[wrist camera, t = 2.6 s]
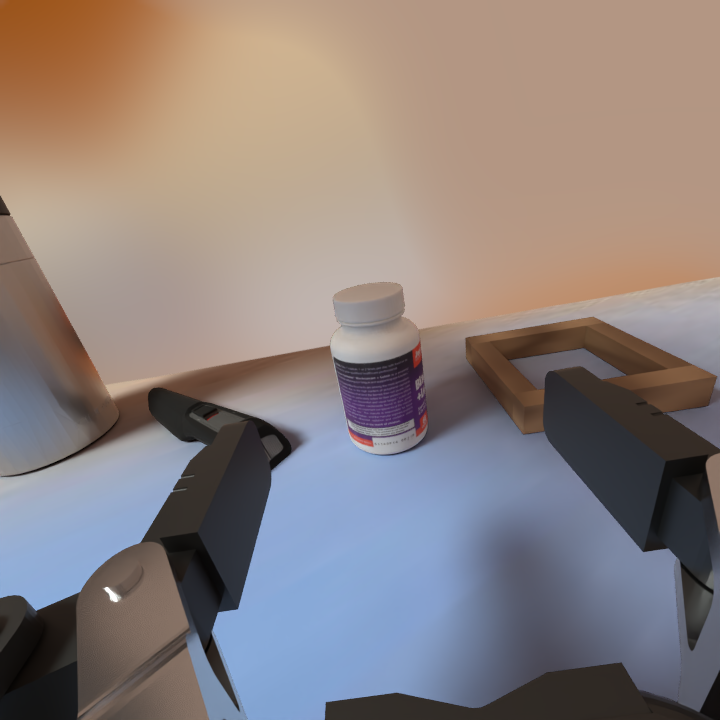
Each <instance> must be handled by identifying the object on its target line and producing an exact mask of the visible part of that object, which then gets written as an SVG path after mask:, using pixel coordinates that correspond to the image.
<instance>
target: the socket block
mask: <svg viewBox="0 0 720 720" xmlns="http://www.w3.org/2000/svg"><path fill="white" fill-rule="evenodd" d="M578 348H585V349H587V350H588V351H590V352H591V353H593V354H595V355H596V356H598V357H599V358H601V359H603V360H604V361H606V362H607V363H609V364H611V365H612V366H614V367H615V368H617V369H618V370H620V371H622V372H623V373H625V374H626V375H628V376H621V377H615V378H609V379H603V380H602V381H607V382H610V383H612V384H615V385H618V386H621V387H623V388H626V389H629V390H631V391H632V392H634V393H635V394H637V395H638V396H640V397H641V398H643V399H644V400H646V401H647V403H648V404H652V405H653V406H655V407H656V408H658V409H659V410H661V411H662V412H663V413H664V412H670V411H677V410H683V409H690V408H696V407H703V406H708V404H709V401H710V398H711V394H712V391H713V388H714V385H715V382H716V379H717V376H715V375H713V374H711V373H709V372H707V371H705V370H703V369H700V368H698V367H696V366H694V365H692V364H690V363H688V362H686V361H684V360H682V359H680V358H678V357H676V356H673V355H671V354H669V353H667V352H665V351H663V350H661V349H659V348H657V347H655V346H653V345H651V344H648V343H646V342H644V341H642V340H640V339H638V338H636V337H634V336H632V335H630V334H628V333H626V332H623V331H621V330H619V329H617V328H615V327H613V326H611V325H609V324H607V323H605V322H603V321H601V320H599V319H596V318H594V317H589V318H583V319H577V320H571V321H565V322H559V323H553V324H547V325H541V326H535V327H528V328H522V329H516V330H510V331H504V332H498V333H492V334H486V335H480V336H474V337H468V338H466V359H467V360H468V361H469V363H470V364H471V365H472V367H473V368H474V369H475V371H476V372H477V373H478V375H479V376H480V377H481V379H482V380H483V381H484V383H485V384H486V385H487V387H488V388H489V389H490V391H491V392H492V393H493V395H494V396H495V397H496V399H497V400H498V401H499V403H500V404H501V405H502V407H503V408H504V409H505V411H506V412H507V413H508V415H509V416H510V417H511V419H512V420H513V421H514V423H515V424H516V425H517V427H518V428H519V429H520V430H521V432H522V433H523V434H528V433H535V432H541V431H545V430H544V426H543V408H544V391H545V389H540V390H537V389H536V388H535V387H534V386H533V385H532V384H531V383H530V382H529V381H528V380H527V379H526V378H525V377H524V376H523V375H522V374H521V373H520V372H519V371H518V370H517V369H516V368H515V367H514V366H513V365H512V364H511V363H510V362H509V361H508V360H510V359H517V358H523V357H529V356H535V355H541V354H547V353H554V352H560V351H566V350H572V349H578Z"/></svg>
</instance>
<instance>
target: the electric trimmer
mask: <svg viewBox="0 0 720 720" xmlns="http://www.w3.org/2000/svg"><path fill="white" fill-rule="evenodd" d="M148 403H149V410H150V412H151V414H152V415H153V416H154V417H155V418H156V419H157V420H158V421H159V422H160V423H161V424H162V425H163V426H164V427H165V428H167V429H168V430H169V431H170V432H171V433H172V434H173V435H175V436H176V437H177V438H178V439H180V440H181V441H189V440H194V439H197V440H198V441H200V442H202V443H204V444H206V445H207V446H210V445H212V443H213V441H214V439H215V437H216V436H217V434H218V432H219V430H220V429H221V427H222V426H223V425H226V424H232V423H238V422H244V421H253V422H254V424H255V425H256V428H257V430H258V433H259V436H260V439H261V441H262V444H263V447H264V450H265V453H266V455H267V458H268V461H269V464H270V468H271V470H272V469H273V468H274V467H276V466H277V465H278V464H279V463H280V462H281V461H283V460H284V459H285V458H286V457H287V456H288V455H289V454H290V453H291V445H290V443H289V441H288V440H287V439H286V438H285V437H284V435H283V434H282V433H280V432H279V431H278V430H277V429H276V428H275V427H273V426H272V425H270V424H269V423H267V422H266V421H264V420H261V419H259V418H256V417H253V416H250V415H246V414H243V413H240V412H237V411H234V410H231V409H228V408H225V407H221V406H218V405H215V404H212V403H207V402H202V401H199V400H196V399H193V398H190V397H187V396H184V395H181V394H178V393H175V392H172V391H169V390H166V389H163V388H153V389H152V390H151V391H150V392H149V394H148Z"/></svg>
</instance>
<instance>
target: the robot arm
mask: <svg viewBox="0 0 720 720" xmlns="http://www.w3.org/2000/svg"><path fill="white" fill-rule="evenodd" d="M118 417H119V411H118V409H117V407H116V405H115V403H114V402H113V400H112V398H111V396H110V394H109V392H108V391H107V389H106V387H105V385H104V384H103V382H102V380H101V378H100V376H99V374H98V372H97V370H96V368H95V367H94V365H93V363H92V361H91V359H90V357H89V356H88V354H87V352H86V350H85V348H84V346H83V345H82V343H81V341H80V339H79V337H78V335H77V334H76V332H75V330H74V328H73V326H72V325H71V323H70V321H69V319H68V317H67V315H66V314H65V312H64V310H63V308H62V306H61V305H60V303H59V301H58V299H57V297H56V296H55V294H54V292H53V290H52V288H51V286H50V285H49V283H48V281H47V279H46V277H45V276H44V274H43V272H42V270H41V268H40V266H39V264H38V263H37V261H36V259H35V258H34V256H33V254H32V252H31V250H30V248H29V247H28V245H27V243H26V241H25V239H24V238H23V236H22V234H21V232H20V230H19V228H18V227H17V225H16V223H15V221H14V220H13V217H11V216H10V212H9V210H8V209H7V207H6V205H5V203H4V201H3V200H2V198H1V196H0V476H8V475H15V474H20V473H24V472H28V471H32V470H35V469H38V468H41V467H43V466H46V465H49V464H51V463H54V462H56V461H58V460H61V459H63V458H65V457H67V456H69V455H71V454H73V453H75V452H77V451H79V450H80V449H82V448H84V447H85V446H87V445H89V444H90V443H92V442H93V441H95V440H96V439H98V438H99V437H100V436H102V435H103V434H104V433H105V432H107V431H108V430H109V429H110V428H111V427H112V426H113V425H114V423H115V422H116V421H117V419H118ZM543 426H544V430H545V433H546V436H547V438H548V440H549V442H550V443H551V444H552V445H553V447H554V448H555V449H556V450H557V451H558V452H559V454H560V455H561V456H562V457H563V458H564V460H565V461H566V462H567V463H568V464H569V465H570V467H571V468H572V469H573V470H574V471H575V472H576V474H577V475H578V476H579V477H580V478H581V479H582V481H583V482H584V483H585V484H586V485H587V487H588V488H589V489H590V490H591V491H592V492H593V494H594V495H595V496H596V497H597V498H598V499H599V501H600V502H601V503H602V504H603V505H604V506H605V508H606V509H607V510H608V511H609V512H610V513H611V515H612V516H613V517H614V518H615V519H616V521H617V522H618V523H619V524H620V525H621V526H622V528H623V529H624V530H625V531H626V532H627V533H628V535H629V536H630V537H631V538H632V539H633V540H634V542H635V543H636V544H637V545H638V546H639V548H640V549H641V550H642V551H643V552H646V551H653V550H660V549H667V548H669V549H670V550H671V552H672V553H673V554H674V555H675V556H676V557H677V558H676V562H675V565H674V577H675V589H676V602H677V614H678V627H679V639H680V652H681V675H680V683H679V690H678V702H675V701H673V700H670V699H668V698H665V697H662V696H658V695H655V694H652V693H649V692H645V691H641V690H638V689H637V688H636V686H635V684H634V683H633V681H632V679H631V678H630V676H629V674H628V673H627V671H626V669H625V668H624V666H623V664H622V663H614V664H607V665H600V666H592V667H585V668H577V669H570V670H562V671H555V672H548V673H545V674H543V675H542V676H540V677H538V678H536V679H534V680H532V681H530V682H529V683H527V684H525V685H523V686H521V687H519V688H517V689H516V690H514V691H512V692H510V693H508V694H506V695H504V696H503V697H501V698H499V699H497V700H495V701H493V702H491V703H490V704H488V705H486V706H483V707H481V708H468V707H463V706H458V705H453V704H449V703H444V702H439V701H434V700H429V699H424V698H419V697H415V696H410V695H405V694H400V693H392V694H384V695H377V696H369V697H362V698H354V699H347V700H340V701H332V702H326V710H325V720H720V449H719V448H717V447H716V446H714V445H713V444H711V443H710V442H708V441H707V440H705V439H703V438H702V437H700V436H699V435H697V434H696V433H694V432H693V431H691V430H690V429H688V428H687V427H685V426H684V425H682V424H681V423H679V422H678V421H676V420H675V419H673V418H672V417H670V416H669V415H667V414H665V415H664V414H663V412H662V411H661V410H659V409H658V408H656V407H655V406H653V405H652V404H648V403H647V401H646V400H644V399H643V398H641V397H640V396H638V395H637V394H635V393H634V392H632V391H631V390H629V389H626V388H623V387H621V386H618V385H615V384H612V383H610V382H607V381H602V380H601V379H599V378H598V377H596V376H595V375H593V374H592V373H590V372H589V371H588V370H586V369H585V368H583V367H580V366H578V367H572V368H566V369H560V370H554V371H549V372H548V373H547V375H546V378H545V391H544V408H543ZM270 487H271V468H270V464H269V461H268V458H267V455H266V453H265V450H264V447H263V444H262V441H261V439H260V436H259V433H258V430H257V428H256V425H255V424H254V422H253V421H244V422H238V423H232V424H226V425H223V426H222V427H221V429H220V430H219V432H218V434H217V436H216V437H215V439H214V441H213V443H212V445H210V446H206V447H204V448H203V449H202V450H201V451H200V452H199V453H198V454H197V455H196V456H195V457H194V458H193V459H192V460H190V462H189V464H188V465H187V467H186V469H185V470H184V472H183V474H182V475H181V479H179V480H178V482H177V483H176V485H175V487H174V488H173V492H172V493H170V495H169V497H168V498H167V500H166V502H165V503H164V505H163V507H162V508H161V510H160V511H159V513H158V515H157V516H156V518H155V520H154V521H153V523H152V525H151V526H150V528H149V530H148V531H147V533H146V535H145V536H144V538H143V539H142V541H141V543H139V544H136V545H133V546H131V547H128V548H126V549H124V550H122V551H121V552H119V553H117V554H116V555H114V556H113V557H111V558H110V559H109V560H107V561H106V562H105V563H104V564H103V565H101V566H100V567H99V568H98V569H97V570H96V571H95V572H94V573H93V574H92V576H91V577H90V578H89V579H88V581H87V582H86V584H85V585H84V587H83V588H82V590H81V592H79V593H77V594H75V595H72V596H70V597H68V598H65V599H63V600H61V601H58V602H56V603H54V604H51V605H49V606H47V607H44V608H42V609H39V610H37V611H36V610H35V609H34V608H33V607H32V606H31V605H30V604H29V603H28V602H27V601H26V600H25V599H24V597H21V596H16V595H13V596H7V597H3V598H0V720H248V718H247V716H246V713H245V711H244V708H243V706H242V703H241V700H240V698H239V695H238V692H237V690H236V687H235V685H234V682H233V679H232V677H231V674H230V672H229V669H228V666H227V664H226V661H225V659H224V656H223V653H222V651H221V648H220V646H219V643H218V640H217V638H216V635H215V633H214V632H213V630H212V629H213V626H214V623H215V620H216V616H217V613H218V612H223V611H229V610H236V609H238V607H239V603H240V599H241V596H242V592H243V588H244V584H245V581H246V577H247V573H248V569H249V566H250V562H251V558H252V554H253V551H254V547H255V543H256V539H257V536H258V532H259V528H260V525H261V521H262V517H263V513H264V510H265V506H266V502H267V498H268V495H269V491H270Z"/></svg>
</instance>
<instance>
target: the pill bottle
mask: <svg viewBox="0 0 720 720" xmlns="http://www.w3.org/2000/svg"><path fill="white" fill-rule="evenodd" d="M333 304H334V310H335V316H336V318H337V322H338V323H339V324H341V325H342V326H341V327H340V328H338V329H337V330H336V331H335V332H334V334H333V336H332V338H331V341H330V348H331V353H332V358H333V363H334V367H335V372H336V376H337V381H338V386H339V390H340V395H341V400H342V404H343V409H344V414H345V419H346V423H347V428H348V432H349V435H350V438H351V440H352V442H353V443H354V444H355V445H356V446H357V447H358V448H360V449H361V450H363V451H366V452H369V453H372V454H378V455H387V454H395V453H399V452H402V451H405V450H407V449H410V448H411V447H413V446H415V445H416V444H417V443H419V442H420V441H421V440H422V439H423V437H424V436H425V434H426V432H427V428H428V416H427V406H426V395H425V385H424V375H423V365H422V354H421V344H420V336H419V331H418V328H417V327H416V325H415V324H414V323H413V322H411V321H410V320H409V319H406V318H404V317H401V315H402V314H403V313H404V307H405V303H404V296H403V289H402V286H401V285H400V284H397V283H391V282H378V283H369V284H363V285H358V286H354V287H350V288H347V289H344V290H342V291H340V292H338V293H336V294H335V295H334V296H333Z"/></svg>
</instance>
